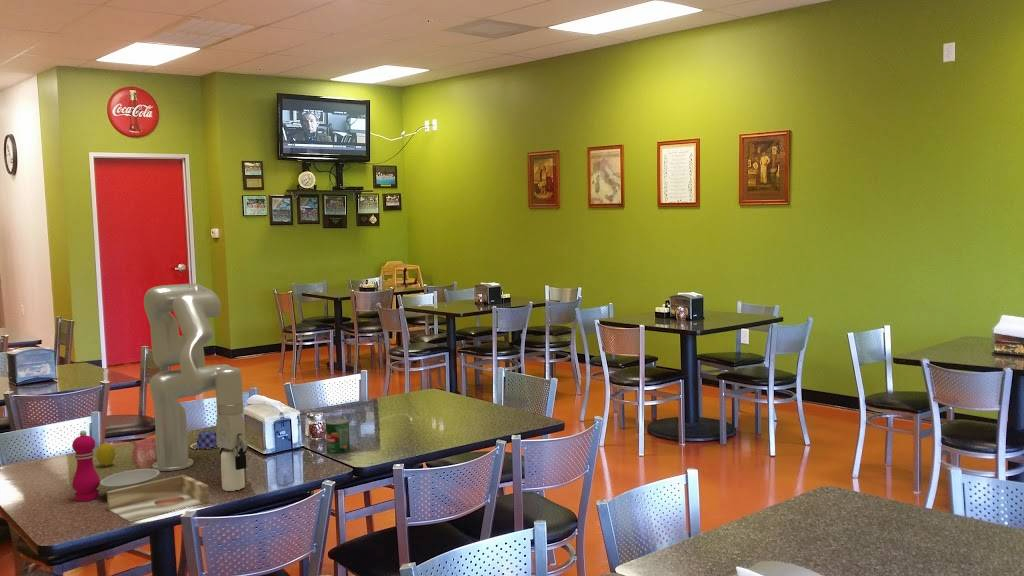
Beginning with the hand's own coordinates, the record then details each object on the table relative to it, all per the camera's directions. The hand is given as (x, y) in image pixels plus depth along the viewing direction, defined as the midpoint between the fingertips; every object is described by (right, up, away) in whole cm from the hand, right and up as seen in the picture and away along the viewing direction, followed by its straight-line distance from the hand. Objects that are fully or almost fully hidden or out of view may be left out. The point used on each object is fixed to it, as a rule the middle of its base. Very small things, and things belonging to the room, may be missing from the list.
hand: (233, 466), depth 257 cm
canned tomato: (+23, -4, +39) cm, 46 cm away
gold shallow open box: (-17, -8, -14) cm, 23 cm away
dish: (-30, -8, -2) cm, 31 cm away
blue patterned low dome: (-26, -4, +52) cm, 59 cm away
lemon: (-51, -6, +28) cm, 58 cm away
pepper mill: (-41, -8, -5) cm, 42 cm away
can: (0, -7, +1) cm, 7 cm away
